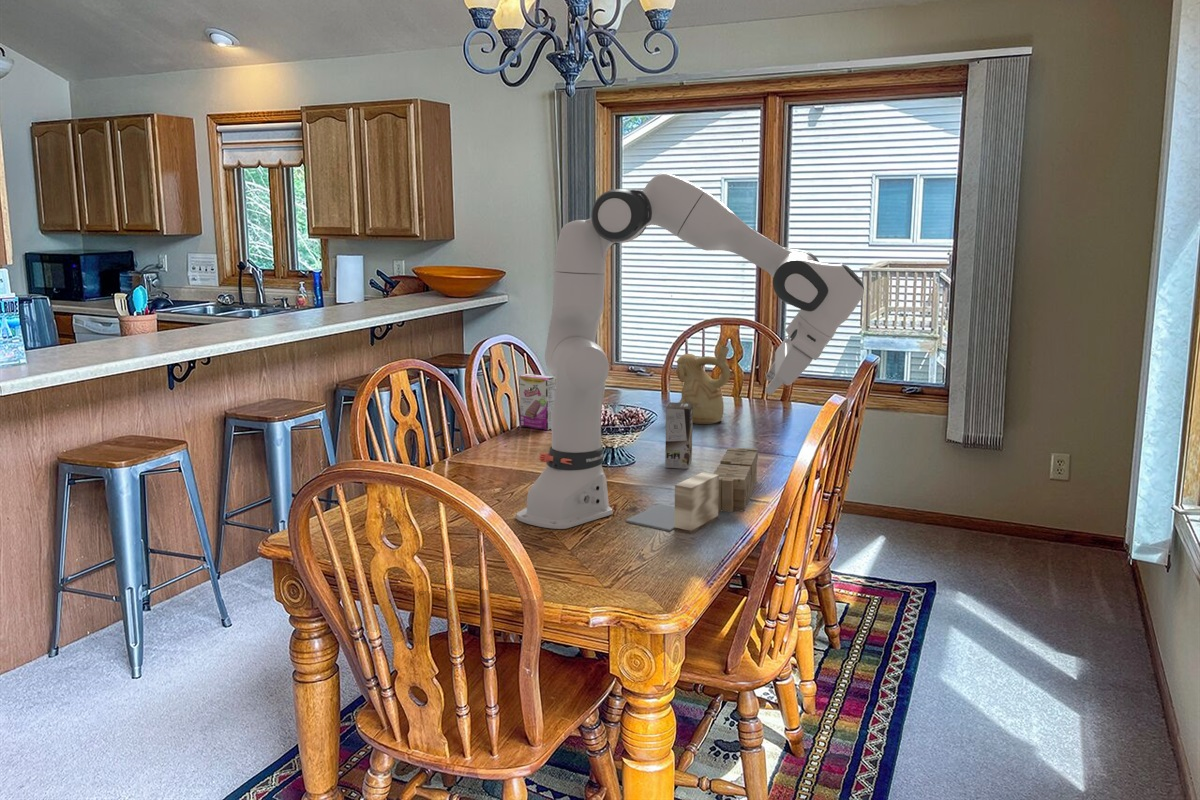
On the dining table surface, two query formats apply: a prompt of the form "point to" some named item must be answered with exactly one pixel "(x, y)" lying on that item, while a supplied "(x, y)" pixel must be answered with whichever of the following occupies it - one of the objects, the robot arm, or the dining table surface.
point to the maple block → (696, 502)
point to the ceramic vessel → (703, 386)
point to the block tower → (736, 478)
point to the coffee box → (678, 435)
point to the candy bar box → (536, 400)
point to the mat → (656, 517)
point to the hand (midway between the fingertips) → (767, 385)
